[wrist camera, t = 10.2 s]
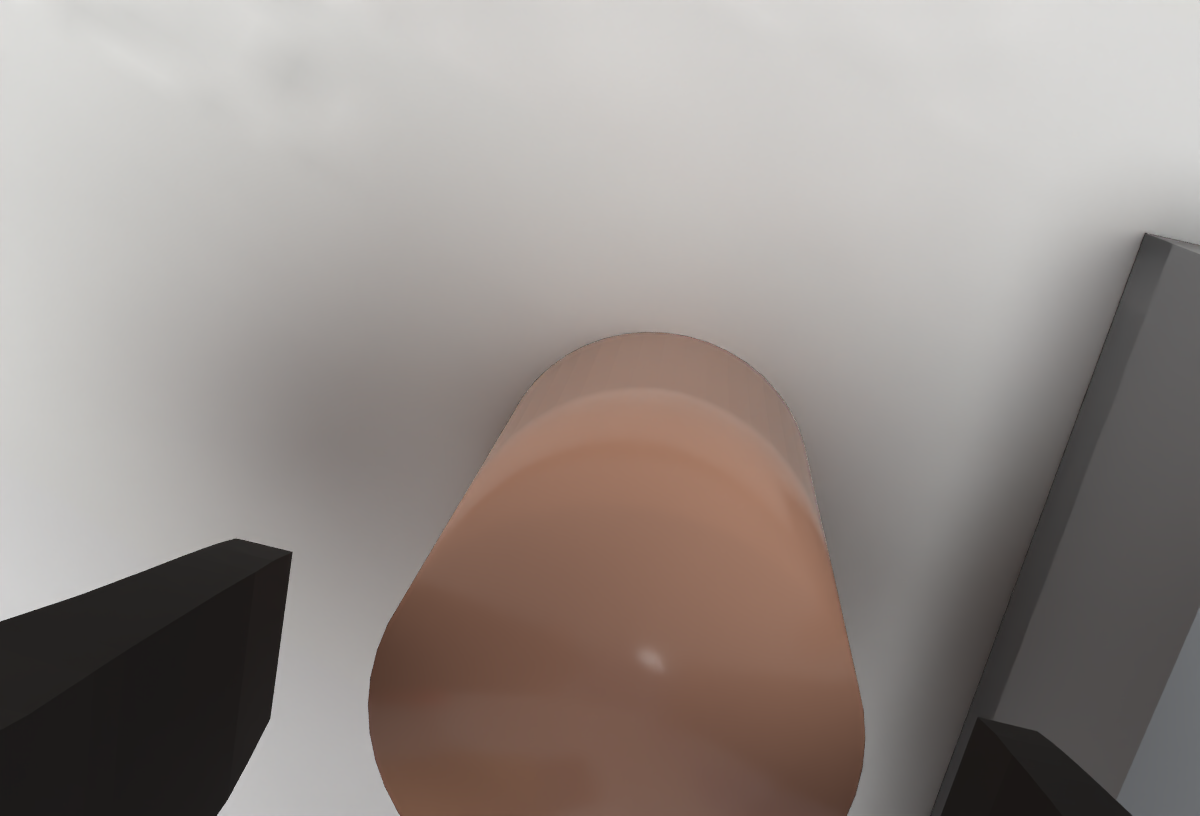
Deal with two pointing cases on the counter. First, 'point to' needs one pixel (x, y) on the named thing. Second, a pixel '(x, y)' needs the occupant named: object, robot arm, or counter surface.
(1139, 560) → the tote
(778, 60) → the counter surface
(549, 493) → the terracotta cylinder
